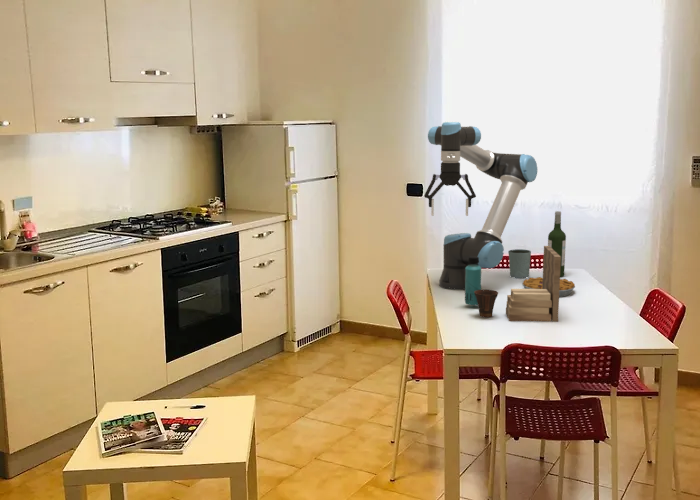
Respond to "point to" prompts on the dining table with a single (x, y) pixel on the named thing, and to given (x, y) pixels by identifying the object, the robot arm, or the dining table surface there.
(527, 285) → the pie
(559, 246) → the wine bottle
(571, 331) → the dining table surface
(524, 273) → the grey plastic cylinder
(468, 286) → the beverage bottle
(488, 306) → the cup
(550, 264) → the offcut rack
